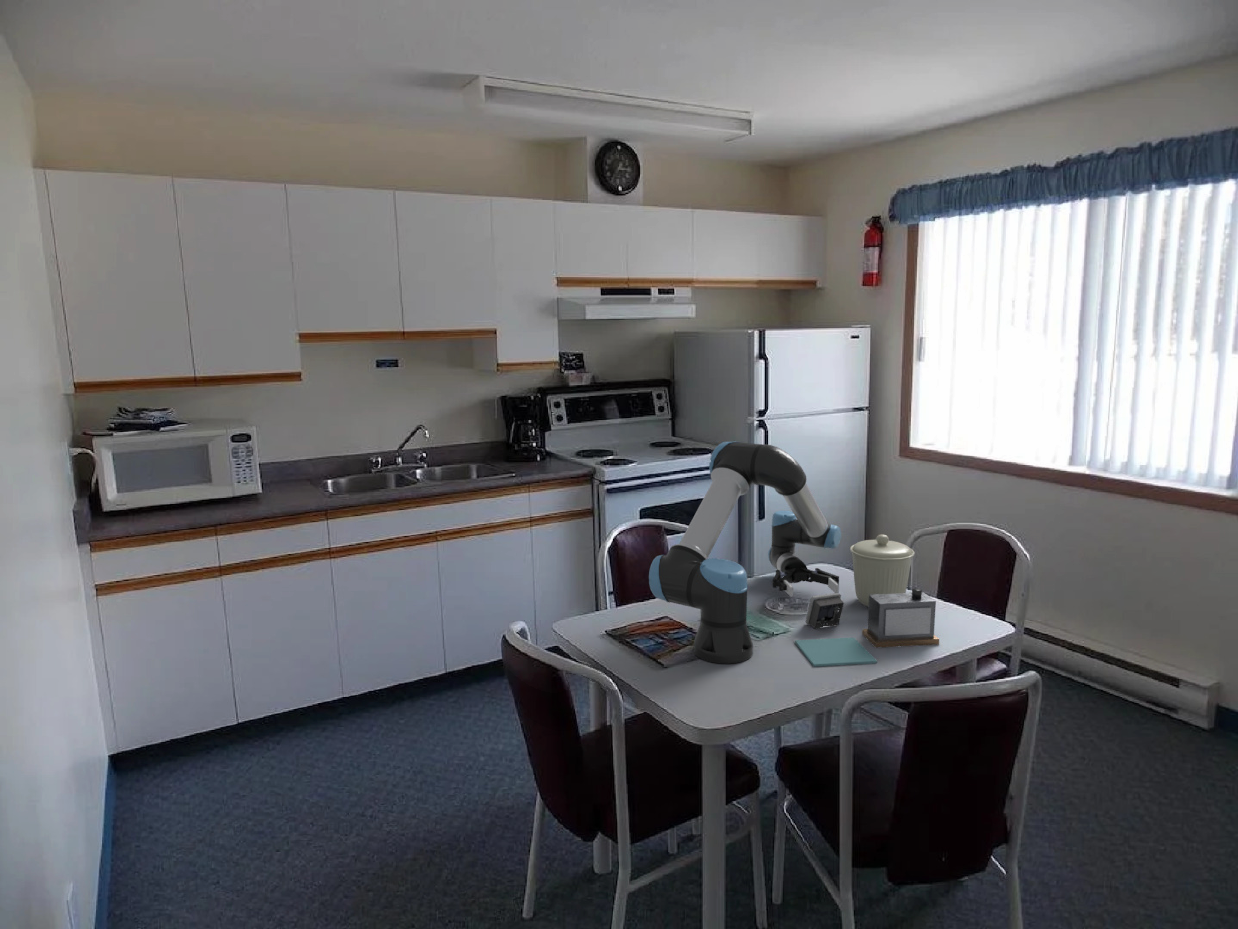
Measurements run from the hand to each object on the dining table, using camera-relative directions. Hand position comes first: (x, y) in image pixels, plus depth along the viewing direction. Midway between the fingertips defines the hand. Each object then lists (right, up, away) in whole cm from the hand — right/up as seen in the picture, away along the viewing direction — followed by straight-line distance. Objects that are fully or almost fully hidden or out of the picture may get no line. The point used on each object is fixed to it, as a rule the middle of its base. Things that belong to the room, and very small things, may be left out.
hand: (814, 590), depth 230 cm
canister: (+21, -5, +8) cm, 23 cm away
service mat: (-1, -12, -26) cm, 29 cm away
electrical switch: (+1, -9, -8) cm, 12 cm away
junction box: (+18, -10, -19) cm, 28 cm away
